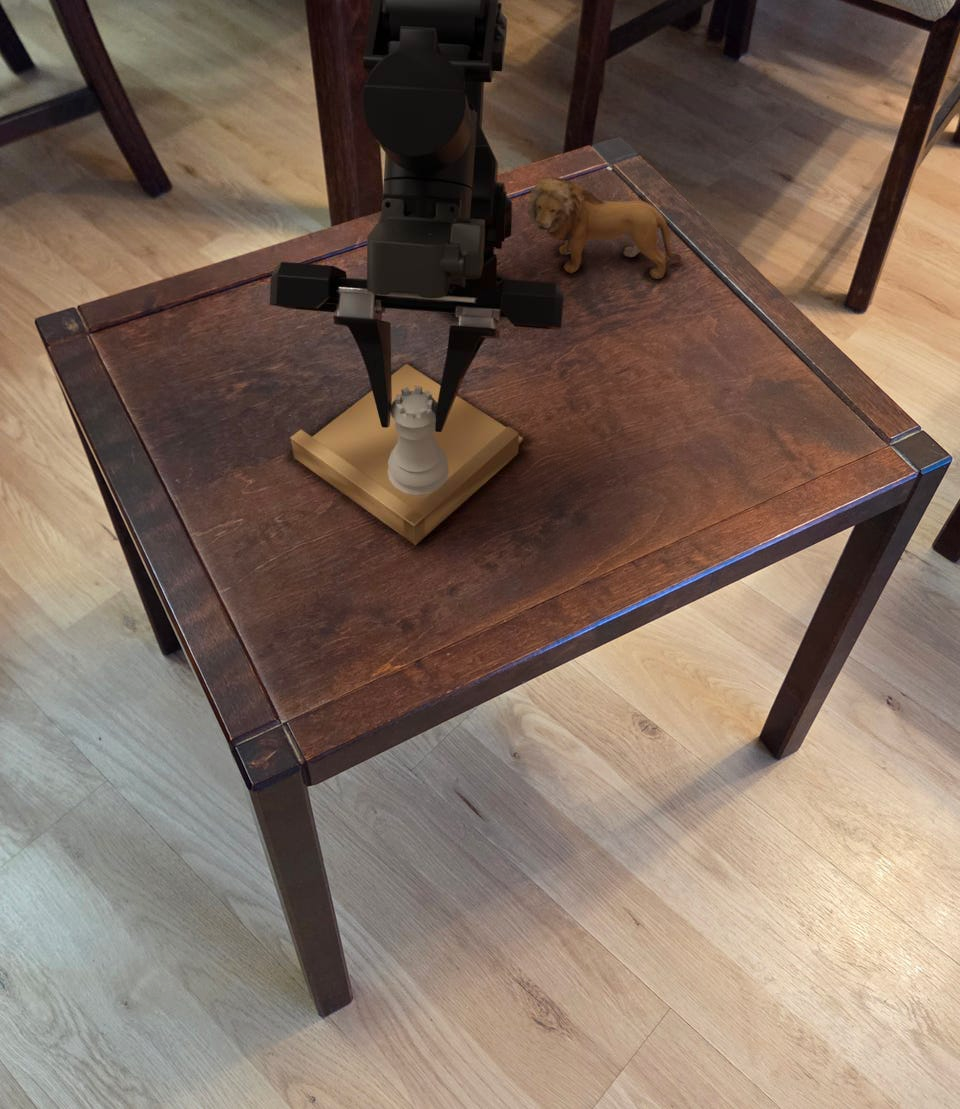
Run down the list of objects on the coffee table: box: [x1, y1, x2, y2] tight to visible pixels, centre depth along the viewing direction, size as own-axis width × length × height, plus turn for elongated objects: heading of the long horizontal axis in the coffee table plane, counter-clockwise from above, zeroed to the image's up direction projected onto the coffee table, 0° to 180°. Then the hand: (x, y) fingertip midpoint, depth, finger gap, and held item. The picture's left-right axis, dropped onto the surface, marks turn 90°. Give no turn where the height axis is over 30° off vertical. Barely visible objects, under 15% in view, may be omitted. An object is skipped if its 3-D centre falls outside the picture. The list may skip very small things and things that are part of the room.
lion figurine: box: [527, 177, 682, 280], centre depth 96 cm, size 15×5×9 cm, turn 92°
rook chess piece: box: [388, 386, 449, 496], centre depth 74 cm, size 4×4×8 cm
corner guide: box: [290, 363, 524, 546], centre depth 84 cm, size 14×14×2 cm
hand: (411, 429), depth 71 cm, fingers closed on rook chess piece, 3 cm apart
